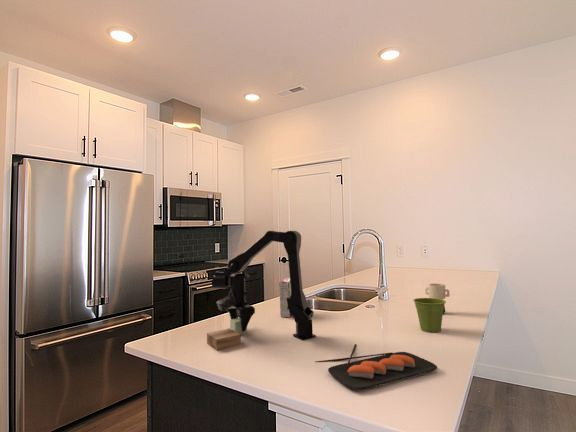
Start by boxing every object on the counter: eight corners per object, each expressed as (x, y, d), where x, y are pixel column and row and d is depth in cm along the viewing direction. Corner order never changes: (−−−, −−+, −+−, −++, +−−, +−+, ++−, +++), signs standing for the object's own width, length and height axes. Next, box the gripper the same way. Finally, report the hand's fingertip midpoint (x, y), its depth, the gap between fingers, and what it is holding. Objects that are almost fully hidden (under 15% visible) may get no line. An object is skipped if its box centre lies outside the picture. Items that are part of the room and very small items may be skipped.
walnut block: (240, 345, 119) (240, 334, 119) (216, 351, 113) (216, 339, 114) (230, 339, 126) (229, 328, 126) (207, 344, 121) (206, 333, 121)
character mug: (453, 313, 154) (451, 284, 154) (447, 316, 149) (446, 286, 149) (429, 309, 161) (427, 282, 162) (423, 312, 156) (421, 284, 157)
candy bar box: (284, 311, 165) (284, 278, 166) (294, 311, 164) (293, 278, 165) (279, 317, 154) (278, 281, 155) (290, 317, 153) (289, 281, 154)
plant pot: (451, 329, 130) (450, 299, 131) (441, 336, 122) (439, 305, 122) (421, 323, 138) (420, 296, 139) (409, 330, 130) (407, 301, 130)
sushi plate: (354, 397, 80) (353, 381, 81) (300, 356, 108) (299, 344, 108) (442, 374, 92) (442, 359, 92) (373, 342, 119) (373, 331, 120)
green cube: (247, 332, 133) (246, 320, 133) (235, 335, 130) (235, 322, 130) (242, 329, 137) (241, 317, 137) (230, 332, 134) (230, 319, 135)
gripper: (210, 288, 138) (211, 326, 137) (227, 295, 122) (228, 338, 121) (236, 285, 144) (236, 322, 143) (255, 291, 128) (256, 333, 127)
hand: (238, 328), depth 134 cm, fingers open, 9 cm apart
